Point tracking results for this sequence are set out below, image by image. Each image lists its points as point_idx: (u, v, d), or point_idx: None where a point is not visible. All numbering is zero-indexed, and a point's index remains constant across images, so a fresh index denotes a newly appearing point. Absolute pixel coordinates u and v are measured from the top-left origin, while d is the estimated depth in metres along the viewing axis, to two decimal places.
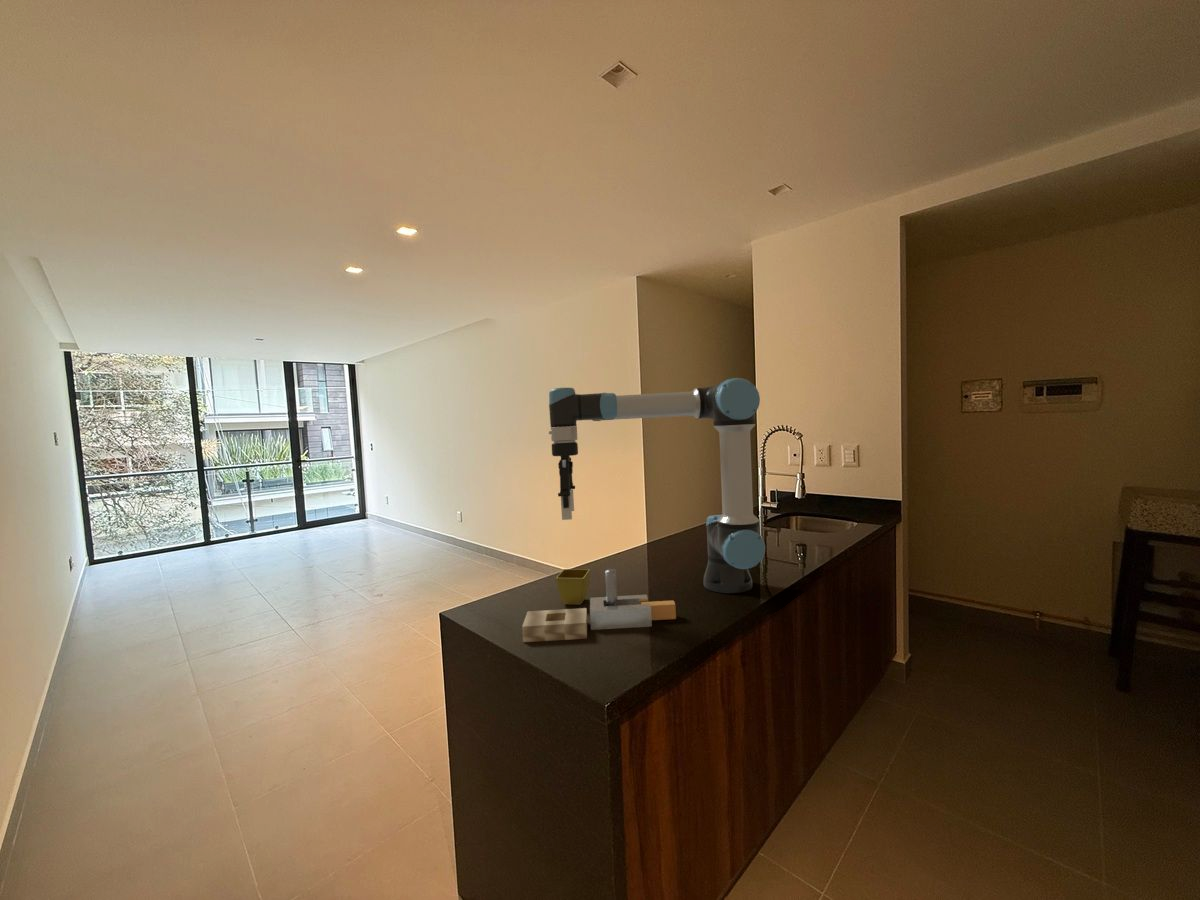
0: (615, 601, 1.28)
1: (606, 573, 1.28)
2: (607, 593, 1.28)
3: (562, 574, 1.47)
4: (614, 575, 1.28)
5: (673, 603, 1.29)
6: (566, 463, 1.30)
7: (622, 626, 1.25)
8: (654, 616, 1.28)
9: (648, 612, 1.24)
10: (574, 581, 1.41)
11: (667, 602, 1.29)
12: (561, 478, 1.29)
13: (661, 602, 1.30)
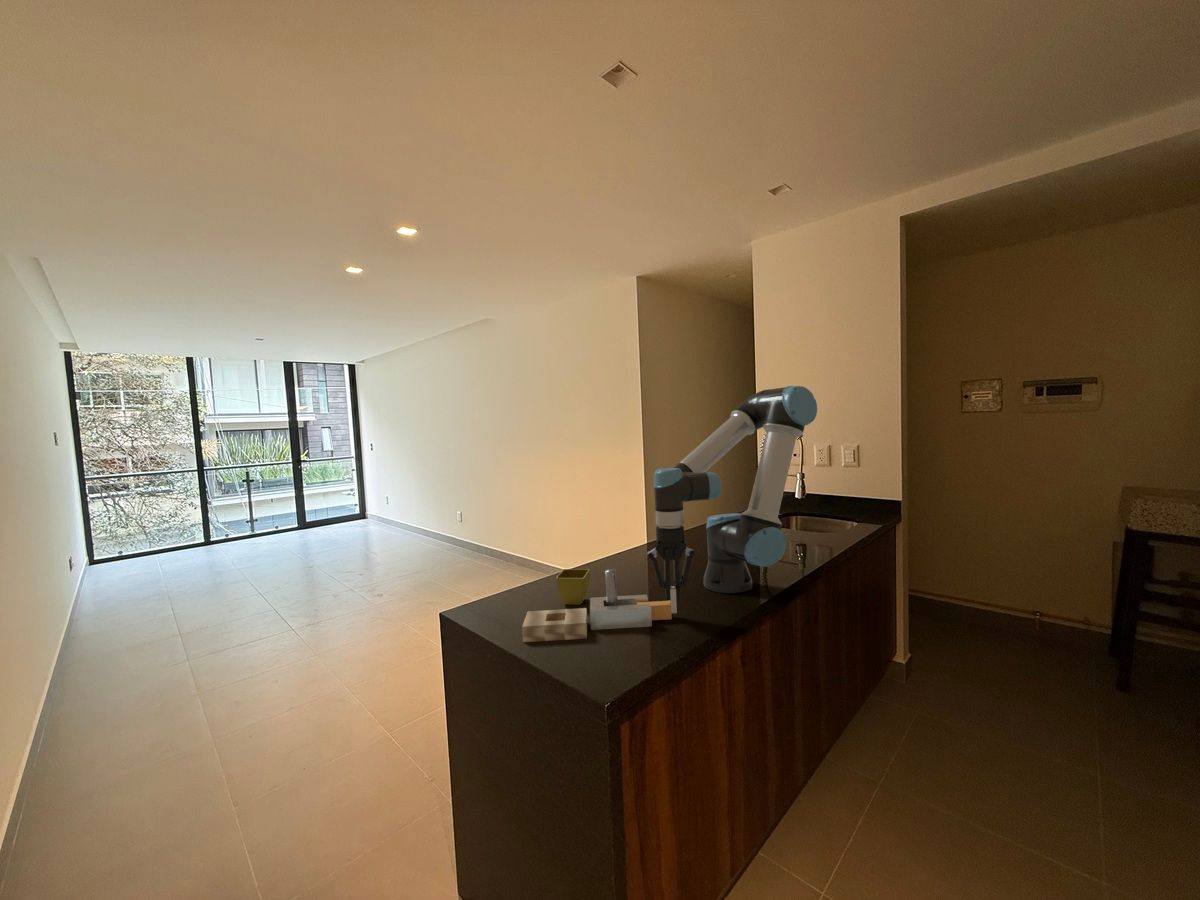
0: (615, 601, 1.28)
1: (606, 573, 1.28)
2: (607, 593, 1.28)
3: (562, 574, 1.47)
4: (614, 575, 1.28)
5: (669, 603, 1.29)
6: (649, 557, 1.28)
7: (622, 626, 1.25)
8: None
9: (648, 612, 1.24)
10: (574, 581, 1.40)
11: (663, 603, 1.29)
12: None
13: (657, 602, 1.30)
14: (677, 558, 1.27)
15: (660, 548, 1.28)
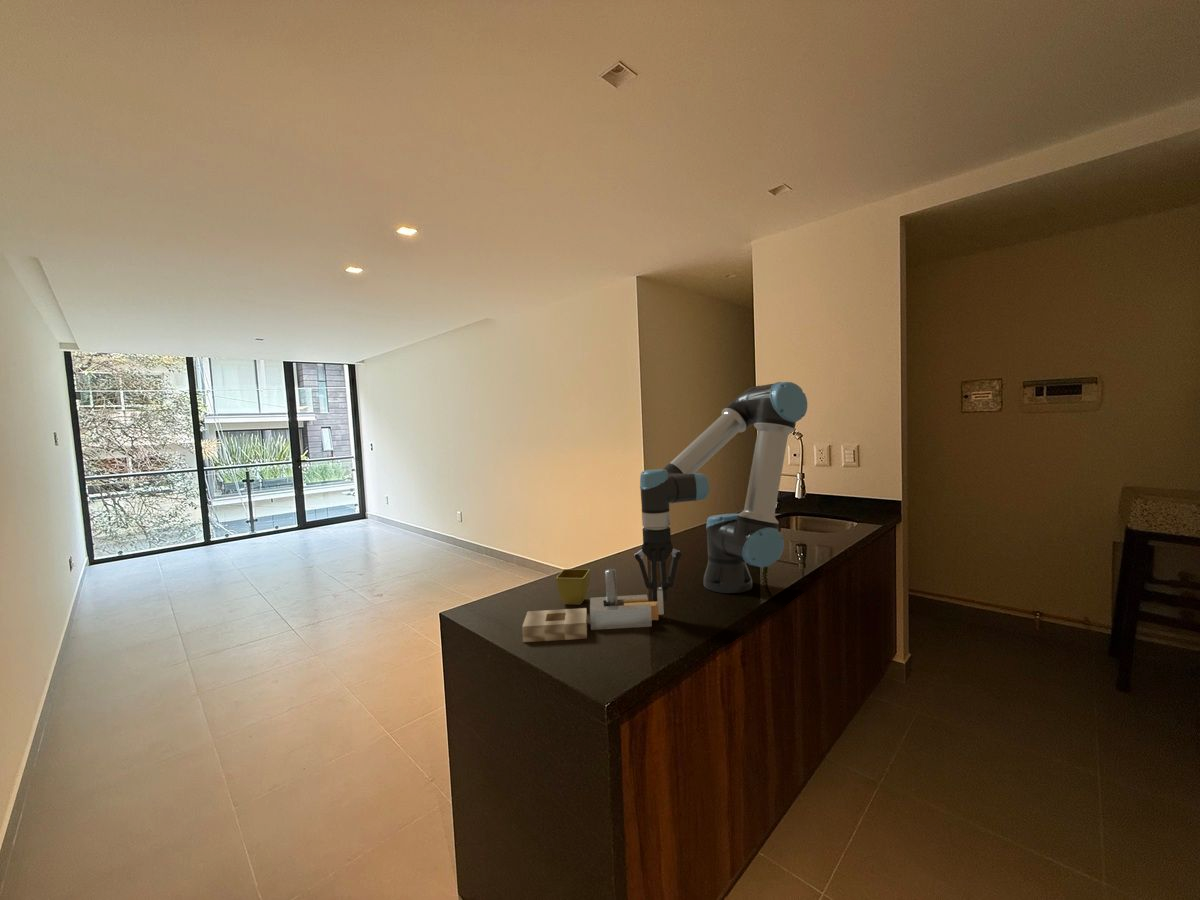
0: (615, 601, 1.28)
1: (606, 573, 1.28)
2: (607, 593, 1.28)
3: (562, 574, 1.47)
4: (614, 575, 1.28)
5: (656, 604, 1.29)
6: None
7: (622, 626, 1.25)
8: None
9: (648, 612, 1.24)
10: (574, 581, 1.41)
11: (650, 603, 1.29)
12: None
13: (644, 603, 1.30)
14: (663, 559, 1.27)
15: (646, 549, 1.28)
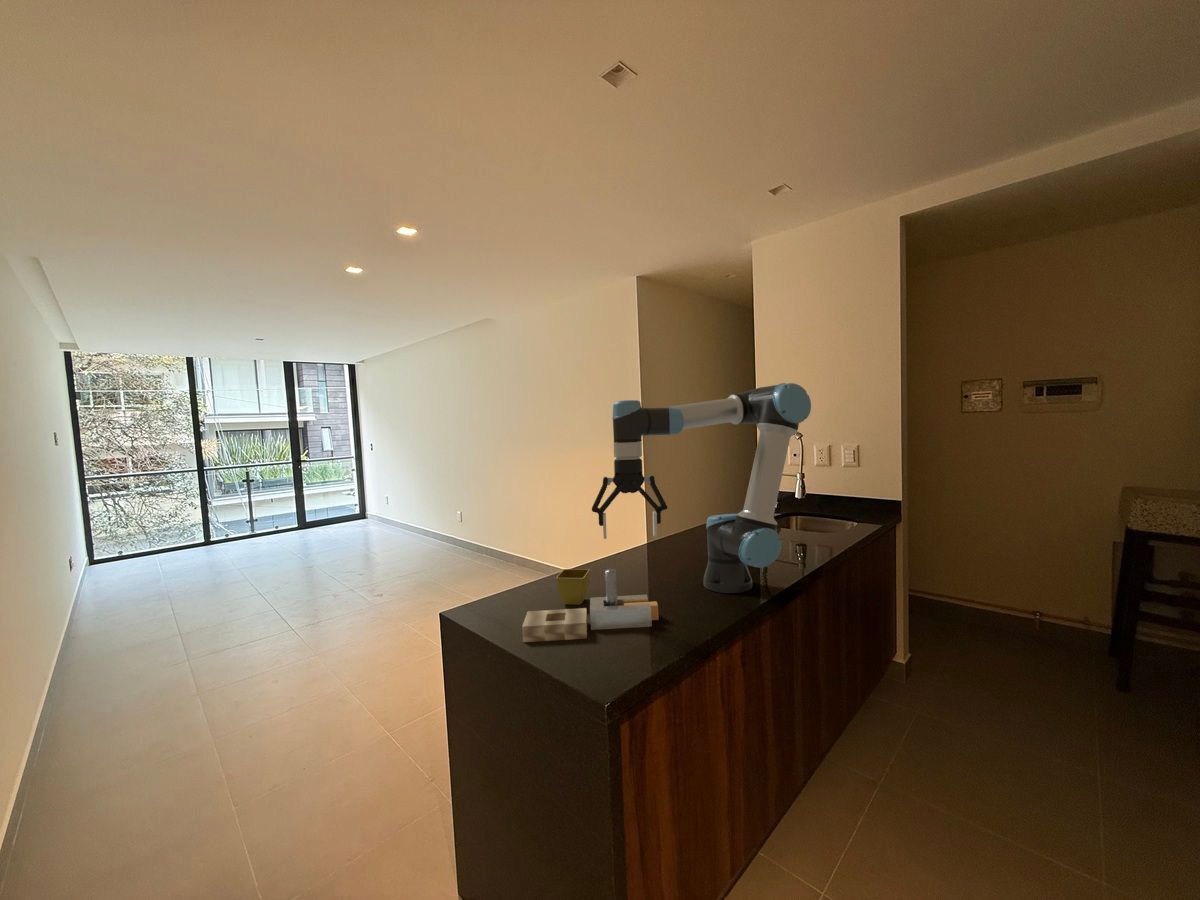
0: (615, 601, 1.28)
1: (606, 573, 1.28)
2: (607, 593, 1.28)
3: (562, 574, 1.47)
4: (614, 575, 1.28)
5: (656, 604, 1.29)
6: (603, 480, 1.27)
7: (622, 626, 1.25)
8: None
9: (648, 612, 1.24)
10: (574, 581, 1.41)
11: (650, 603, 1.29)
12: None
13: (644, 603, 1.30)
14: (639, 488, 1.26)
15: (617, 480, 1.27)
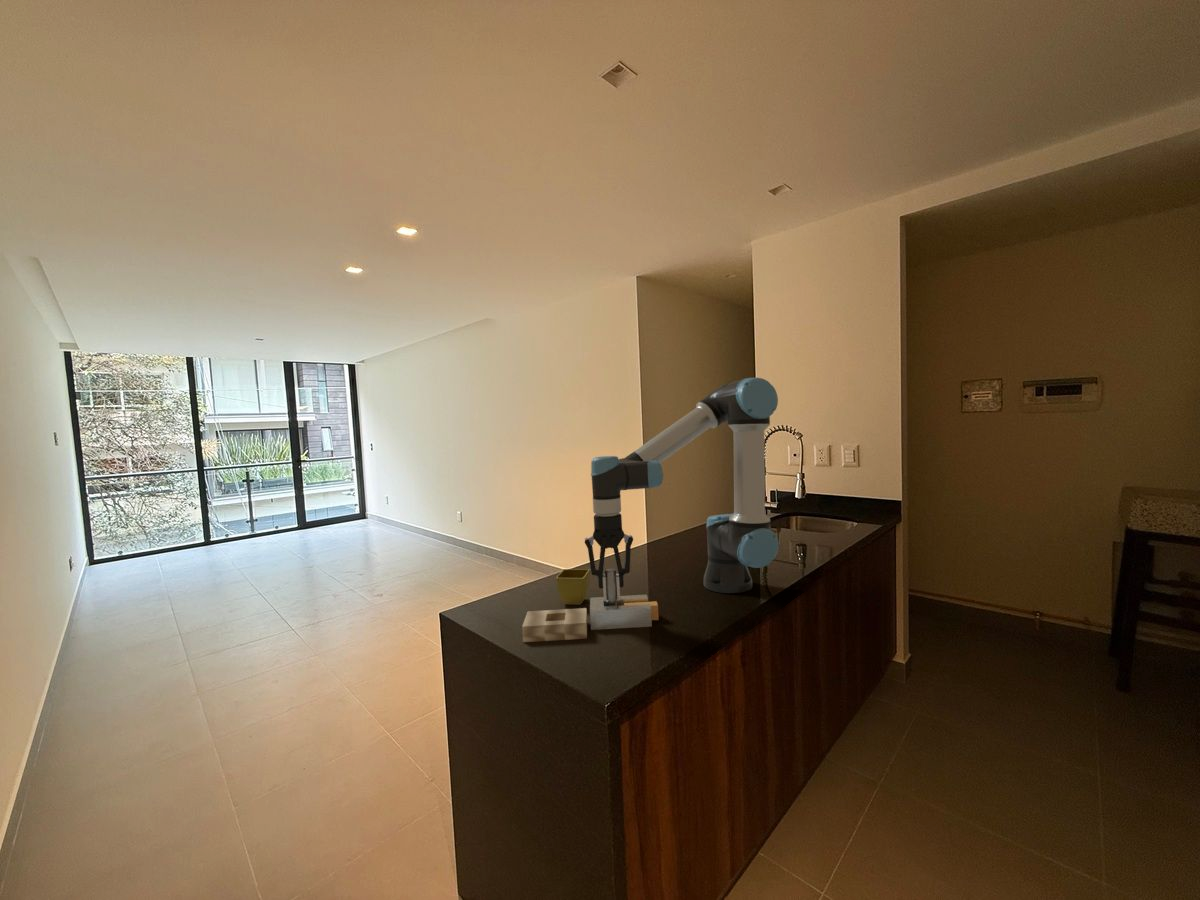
0: (615, 601, 1.28)
1: (606, 573, 1.28)
2: (607, 593, 1.28)
3: (562, 574, 1.47)
4: (614, 575, 1.28)
5: (656, 604, 1.29)
6: None
7: (622, 626, 1.25)
8: None
9: (648, 612, 1.24)
10: (574, 581, 1.41)
11: (650, 603, 1.29)
12: None
13: (644, 603, 1.30)
14: (615, 546, 1.27)
15: (597, 536, 1.27)
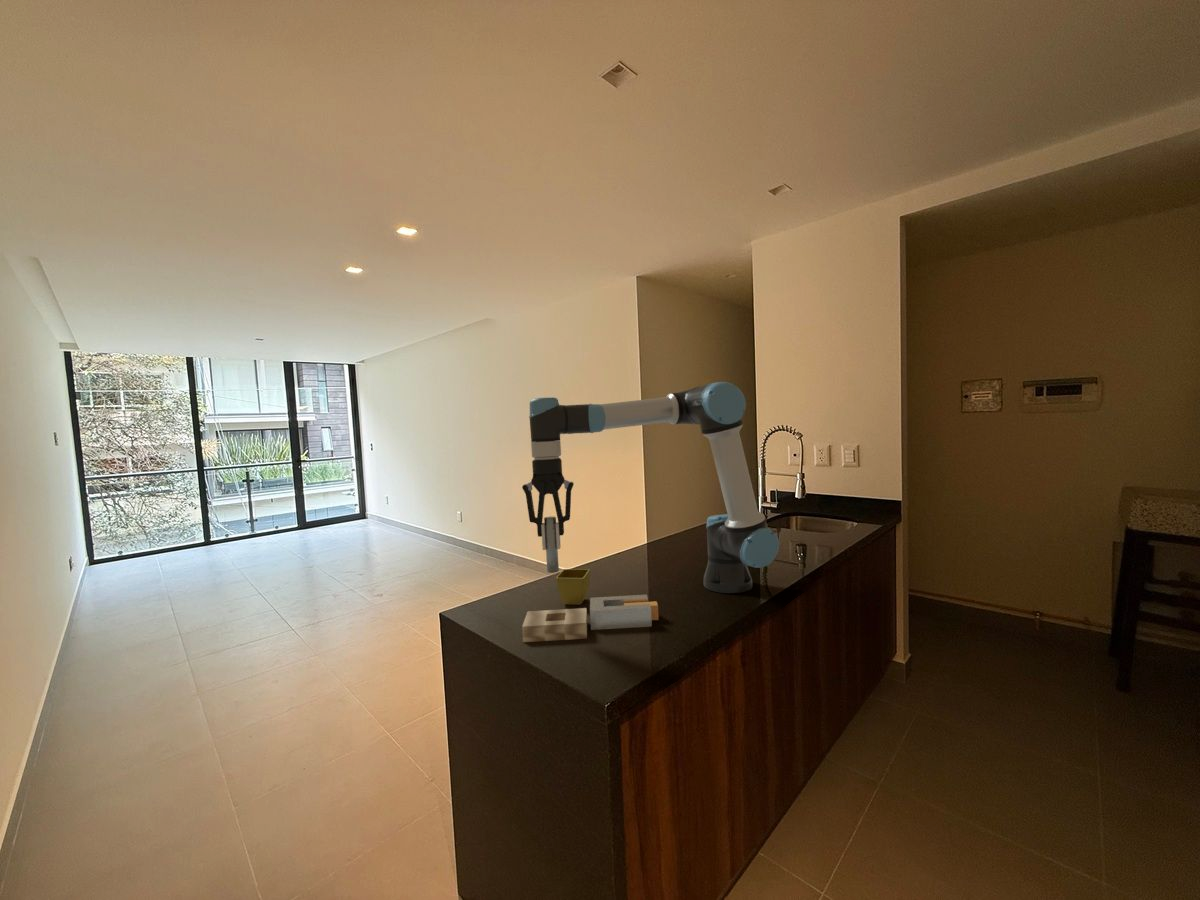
0: (555, 549, 1.22)
1: (545, 520, 1.22)
2: (546, 541, 1.22)
3: (562, 574, 1.47)
4: (553, 522, 1.22)
5: (656, 604, 1.29)
6: None
7: (622, 626, 1.25)
8: None
9: (648, 612, 1.24)
10: (574, 581, 1.41)
11: (650, 603, 1.29)
12: None
13: (644, 603, 1.30)
14: (554, 491, 1.21)
15: (536, 481, 1.22)
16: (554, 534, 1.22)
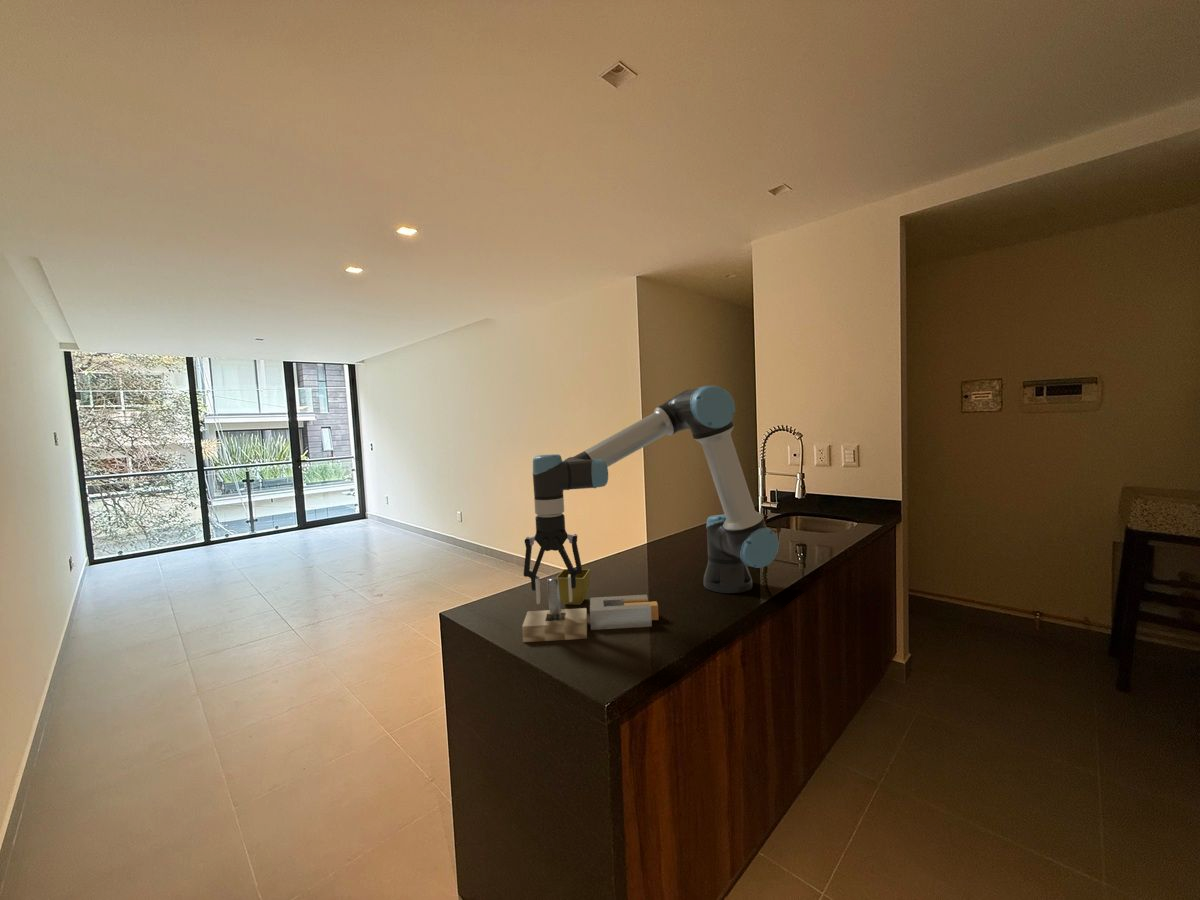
0: (558, 611, 1.23)
1: (548, 582, 1.23)
2: (549, 603, 1.23)
3: (562, 574, 1.47)
4: (556, 584, 1.23)
5: (656, 604, 1.29)
6: None
7: (622, 626, 1.25)
8: None
9: (648, 612, 1.24)
10: None
11: (650, 603, 1.29)
12: None
13: (644, 603, 1.30)
14: (560, 547, 1.22)
15: (539, 538, 1.22)
16: (557, 596, 1.23)
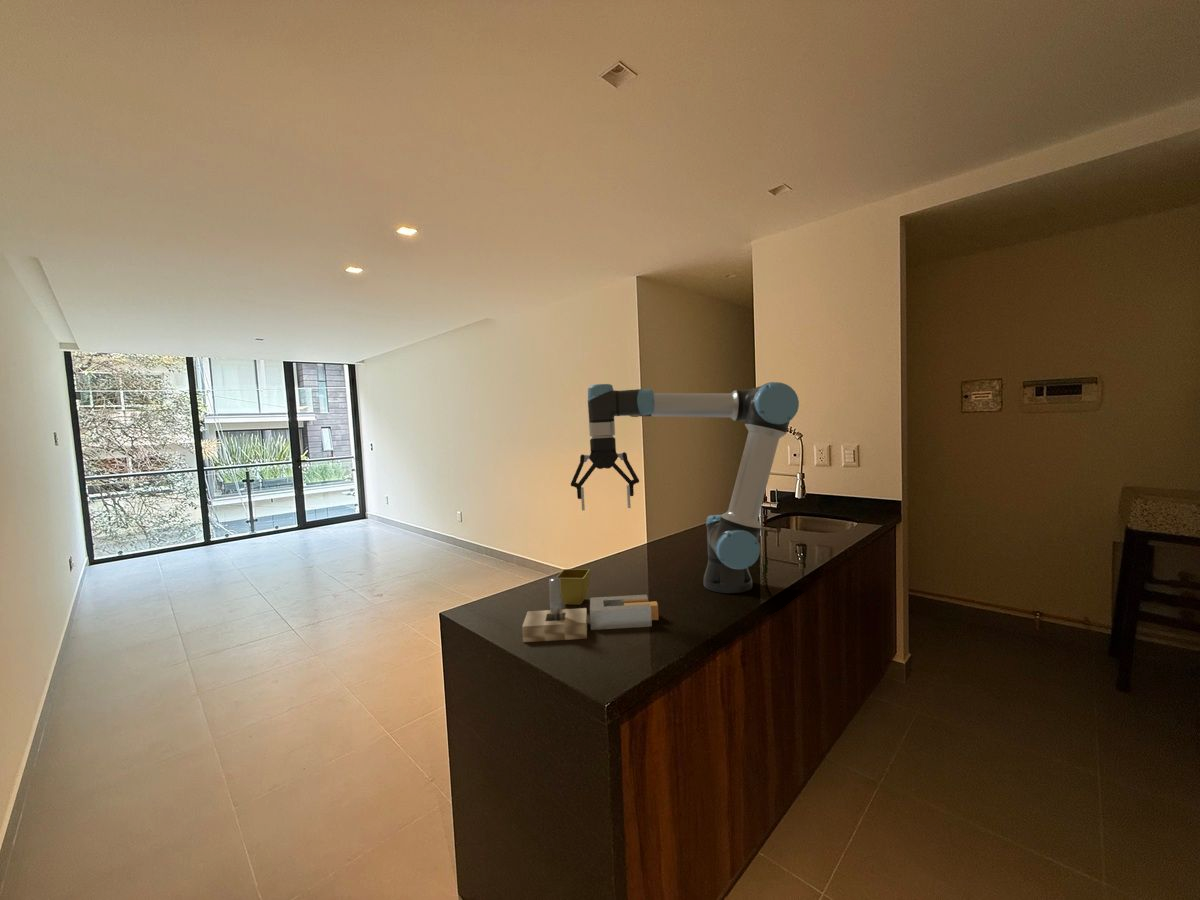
0: (559, 611, 1.23)
1: (550, 582, 1.23)
2: (551, 603, 1.23)
3: (562, 574, 1.47)
4: (558, 584, 1.23)
5: (656, 604, 1.29)
6: (580, 458, 1.40)
7: (622, 626, 1.25)
8: None
9: (648, 612, 1.24)
10: (574, 581, 1.41)
11: (650, 603, 1.29)
12: None
13: (644, 603, 1.30)
14: (613, 464, 1.39)
15: (593, 457, 1.40)
16: (558, 596, 1.23)
